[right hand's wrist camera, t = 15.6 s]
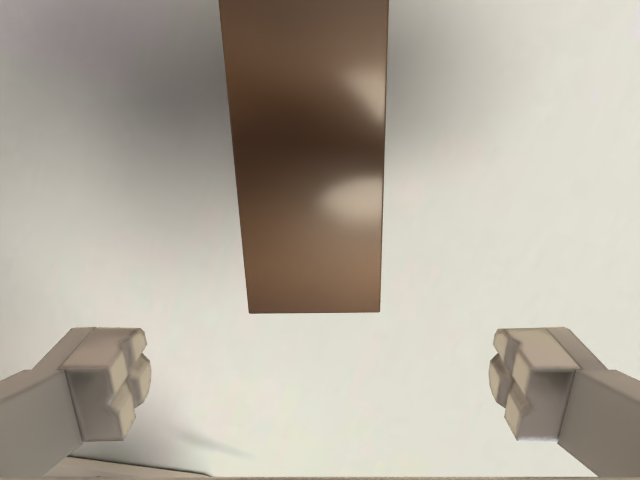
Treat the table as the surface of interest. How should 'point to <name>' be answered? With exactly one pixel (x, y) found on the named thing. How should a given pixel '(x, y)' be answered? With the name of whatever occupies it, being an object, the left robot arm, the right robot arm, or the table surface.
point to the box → (308, 149)
